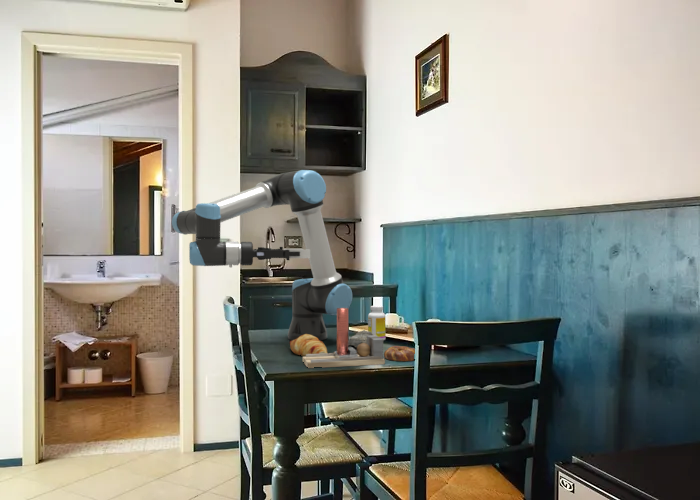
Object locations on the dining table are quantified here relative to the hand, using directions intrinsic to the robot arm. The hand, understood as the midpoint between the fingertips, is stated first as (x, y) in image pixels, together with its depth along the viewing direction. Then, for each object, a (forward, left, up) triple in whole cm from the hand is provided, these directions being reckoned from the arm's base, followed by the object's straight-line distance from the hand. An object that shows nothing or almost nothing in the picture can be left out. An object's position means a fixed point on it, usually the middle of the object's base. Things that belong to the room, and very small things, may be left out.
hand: (306, 253), depth 194 cm
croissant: (-6, +1, -34) cm, 35 cm away
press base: (+11, +10, -34) cm, 37 cm away
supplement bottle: (-26, +32, -34) cm, 53 cm away
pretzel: (+8, +29, -35) cm, 46 cm away
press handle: (+11, +11, -32) cm, 36 cm away
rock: (-8, +21, -34) cm, 41 cm away
